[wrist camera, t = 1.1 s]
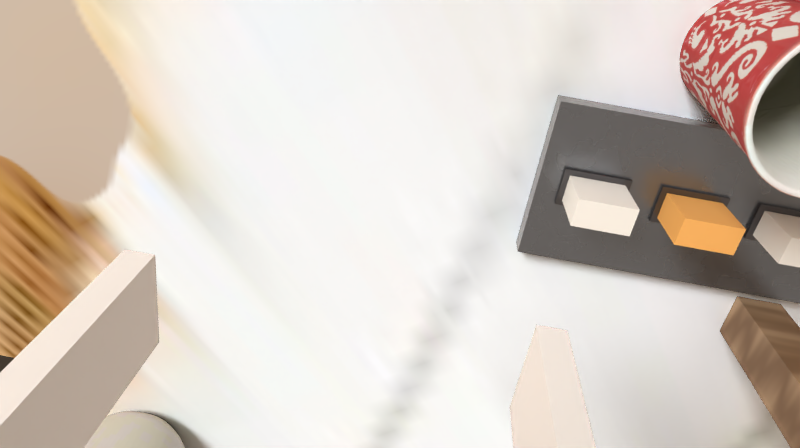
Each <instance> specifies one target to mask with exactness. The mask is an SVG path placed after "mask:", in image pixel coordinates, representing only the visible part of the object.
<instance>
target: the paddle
mask: <svg viewBox="0 0 800 448" xmlns="http://www.w3.org/2000/svg"><path fill="white" fill-rule="evenodd" d="M562 202H563V205H564V208H565V211H566V214H567V217H568V220H569V223H570V226H575V227H581V228H586V229H592V230H597V231H603V232H608V233H614V234H619V235H624V236H630V234H631V232H632V229H633V226H634V224H635V221H636V219H637V216H638V213H639V211H640V210H639V208H638V206H637V204H636V203H635V201H634V199H633V198H632V196H631V194H630V192H629V191H628V189H627V187H626V186H625V185H620V184H615V183H609V182H604V181H598V180H593V179H587V178H582V177H576V176H570V177H569V180H568V183H567V186H566V189H565V193H564V196H563V199H562Z"/></svg>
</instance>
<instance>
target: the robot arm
mask: <svg viewBox="0 0 800 448" xmlns="http://www.w3.org/2000/svg"><path fill="white" fill-rule="evenodd" d="M158 343H159V327H158V306H157V285H156V264H155V255H153V254H148V253H142V252H137V251H131V250H126V249H125V250H123V251H122V252H121V253H120V254H119V255H118V256H117V257H116V258H115V259H114V260H113V261H112V262H111V263H110V264H109V265H108V266H107V267H106V268H105V269H104V270H103V271H102V272H101V273H100V274H99V275H98V276H97V277H96V278H95V279H94V280H93V281H92V282H91V283H90V284H89V285H88V286H87V287H86V288H85V289H84V290H83V291H82V292H81V293H80V294H79V295H78V296H77V297H76V298H75V299H74V300H73V301H72V302H71V303H70V304H69V305H68V306H67V307H66V308H65V309H64V310H63V311H62V312H61V313H60V314H59V315H58V316H57V317H56V318H55V319H54V320H53V321H52V322H51V323H50V324H49V325H48V326H47V327H46V328H45V329H44V330H43V331H42V332H41V333H40V334H39V335H38V336H37V337H36V338H35V339H34V340H33V341H32V342H31V343H30V344H29V345H27V346H26V347H25V348H24V349H23V350H22V351H21V352H20V353H19V354H18V355H17V356H16V357H15V358H12V357H6V356H1V355H0V448H84V447H85V445H86V444H87V443H88V441H89V440H90V438H91V437H92V436H93V434H94V433H95V431H96V430H97V428H98V427H99V426H100V424H101V423H102V421H103V420H104V419H105V417H106V416H107V414H108V413H109V412H110V410H111V409H112V407H113V406H114V405H115V403H116V402H117V400H118V399H119V398H120V396H121V395H122V393H123V392H124V391H125V389H126V388H127V386H128V385H129V384H130V382H131V381H132V379H133V378H134V377H135V375H136V374H137V372H138V371H139V370H140V368H141V367H142V365H143V364H144V363H145V361H146V360H147V358H148V357H149V356H150V354H151V353H152V351H153V350H154V349H155V347H156V346H157V344H158ZM510 415H511V427H512V438H513V448H596V446H595V442H594V438H593V434H592V430H591V426H590V421H589V417H588V413H587V409H586V405H585V401H584V397H583V393H582V388H581V384H580V380H579V376H578V372H577V368H576V364H575V360H574V356H573V351H572V347H571V343H570V339H569V335H568V331H567V330H563V329H557V328H552V327H546V326H541V325H536V328H535V331H534V334H533V337H532V340H531V343H530V346H529V349H528V352H527V355H526V358H525V361H524V364H523V368H522V371H521V374H520V377H519V380H518V383H517V386H516V389H515V392H514V395H513V398H512V401H511V405H510Z"/></svg>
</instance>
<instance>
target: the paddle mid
mask: <svg viewBox="0 0 800 448" xmlns="http://www.w3.org/2000/svg"><path fill="white" fill-rule="evenodd" d="M657 218H658V220H659V221H660V223H661V225H662V226H663V228H664V229H665V231H666V233H667V234H668V236H669V237H670V239H671V240H672V242H673V244H674V245H679V246H685V247H690V248H696V249H701V250H707V251H712V252H718V253H723V254H728V255H734V253H735V251H736V249H737V247H738V245H739V243H740V241H741V239H742V237H743V235H744V233H745V231H746V229H745V228H744V226H743V225H742V224H741V223H740V222H739V221H738V220H737V219H736V217H735V216H734V215H733V214H732V213H731V212H730V211H729V210H728V208H727V207H726V206H725V205H724V204H723V203H719V202H714V201H708V200H703V199H697V198H692V197H686V196H681V195H675V194H670V193H667V195H666V197H665V200H664V202H663V204H662V207H661V209H660V212H659V214H658V217H657Z"/></svg>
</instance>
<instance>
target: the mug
mask: <svg viewBox="0 0 800 448" xmlns="http://www.w3.org/2000/svg"><path fill="white" fill-rule="evenodd" d="M680 72H681V76H682V79H683V81H684V83H685V85H686V87H687V88H688V90H689V91H690V92H691V94H692V95H693V96H694V97H695V98H696V99H697V100H698V102H699V103H700V104H701V105H702V106H703V107H704V108H705V109H706V110H707V111H708V113H709V114H710V115H711V116H712V117H713V118H714V119H715V120H716V121H717V122H718V123H719V125H720V126H721V127H722V128H723V129H724V130H725V131H726V132H727V134H728V135H729V136H730V137H731V138H732V140H733V141H734V142H735V143H736V144H737V145H738V146H739V148H740V149H741V150H742V151H743V152H744V153H745V154H746V155H747V157H748V159H749V161H750V163H751V165H752V166H753V168H754V170H755V171H756V172H757V173H758V174H759V176H760V177H761V178H762V179H763V180H764V181H765V182H767V183H768V184H769V185H771V186H772V187H774V188H775V189H777V190H779V191H780V192H783V193H785V194H787V195H791V196H794V197H798V198H800V0H724V1H722V2H720V3H718V4H716V5H715V6H713V7H712V8H710V9H709V10H708V11H707V12H705V13H704V14H703V15H702V16H701V17H700V18H699V19H698V20H697V21H696V22H695V23H694V25H693V26H692V27H691V29H690V30H689V32H688V34H687V36H686V38H685V40H684V42H683V45H682V49H681V53H680Z"/></svg>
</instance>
